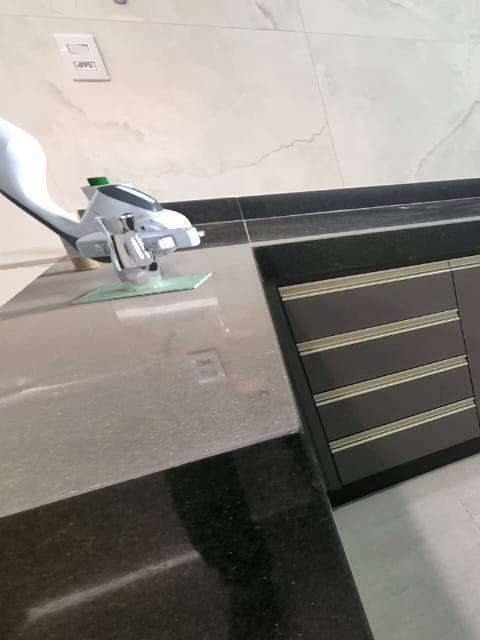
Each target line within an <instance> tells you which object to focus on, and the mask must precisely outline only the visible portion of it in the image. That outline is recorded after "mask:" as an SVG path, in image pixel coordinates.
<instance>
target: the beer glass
mask: <svg viewBox="0 0 480 640" xmlns="http://www.w3.org/2000/svg"><path fill="white" fill-rule="evenodd" d="M94 220H95V221H96V223H97V224H98V226H99V227H100V228H101V230H102V231H103V233H104V235H105V237H106V240H107V244H108V248H109V252H110V257H111V260H112V263H111V264H112V266H113V269H114V272H115V273H116V275H117V278H118V279H119V280H120V282H121V284H123V286H124V287H125V289H126V291H142V290H148V289H153V288H157V287H160V286H163V285H165V281H164V278H165V277H164V275H163V272H162V269H161V266H160V265H159V262H158V260H157V257H155V256H154V255H153V253H152V251H151V250H150V248H149V247H148V246H147V244H146V243H145V241H144V240H143V238H142V237H141V235H140V233H139V231H138V229H137V226H136V222H135V216H134V214H133V213H121V214H111V215H104V216H98V217H95V218H94Z"/></svg>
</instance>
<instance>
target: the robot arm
mask: <svg viewBox="0 0 480 640" xmlns="http://www.w3.org/2000/svg"><path fill="white" fill-rule="evenodd" d="M0 194H1V195H2V196H3V197H4V198H6V199H7V200H8V201H10V202H11V203H12V204H13V205H15V206H16V207H18V209H21V210H22V211H23V212H25V213H26V214H28V215H29V216H30V217H32V218H33V219H35V220H36V221H37V222H39V223H40V224H42V225H43V226H44V227H46V228H47V229H49V230H51V231H52V232H53V233H54V234H56V235H58V237H59V238H60V237H62V238H63V239H64V240H66V241H67V242H68V243H69V244H70V245H71V246H72V247H73V248H74V249H75V250H76V251H78V252H79V253H80V254H81V255H82V256H83V257H84V258H90V259H92V260H95V261H97V263H98V262H99V263H102V264H112V260H111V257H110V252H109V248H108V244H107V240H106V237H105V235H104V233H103V231H102V230H101V228H100V227H99V226H98V224H97V223H96V221H95V220H94V218H95V217H98V216H104V215H111V214H121V213H133V214H134V216H135V222H136V226H137V229H138V231H139V233H140V235H141V237H142V238H143V240H144V241H145V243H146V244H147V246H148V247H149V248H150V250H151V251H152V253H153V255H154V256H155V258H162V257H166V256H167V255H169V254H171V253H173V252H174V251H176V250H177V249H184V248H185V249H186V248H193V247H197V246H198V245H200V243H201V237H203V236H205V235H206V232H205V231H204V230H197V228H196V227H195V226H192V224H191V222H190V221H189V219H188V218H187V217H186V216H185V215H183V214H182V213H180V212H177V211H174V210H171V209H167V208H163V206H162V204H160V202H158V200H157V199H155V198H154V197H152V196H151V195H149V194H147V193H145V192H143V191H141V190H139V189H136V188H134V187H132V188H131V187H127V186H123V185H104V186H100V187H98V188H97V189H96V191H95V193H94V194H93V196H92V198H91V200H90V201H89V202H88V204H87V207H86V209H85V210H84V212H83V214H82V216H81V218H80V219H79V220H77V219H78V218H77V219H76V218H74V217H73V216H71V215H70V214H69V213H70V212H68V211H66V210H64V209H63V208H62V207H60V206H59V205H58V204H56V203H55V202H54V201H53V199H52V198H51V196H50V195H49V192H48V187H47V156H46V154H45V151H44V149H43V147H42V145H41V144H40V143H39V141H38V140H37V139H36V138H35V137H34V136H32V135H31V134H30V133H28V132H27V131H25V130H24V129H22V128H21V127H19V126H17V125H16V124H13V123H12V122H10V121H8V120H6V119H5V118H3V117H1V116H0Z"/></svg>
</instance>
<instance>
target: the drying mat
mask: <svg viewBox="0 0 480 640" xmlns="http://www.w3.org/2000/svg"><path fill="white" fill-rule="evenodd" d="M211 275H212V272H206V273H198V274H190V275H182V276H181V275H180V276H174V277H173V276H172V277H166V278H165V277H163V278H164V281H165V285H163V286H160V287H157V288H153V289H148V290H142V291H126V289H125V287H124V286H123V284H122V283H117V284H108V285H101V286H99V287H98V288H96V289H93V290H92V291H90V292H89V293H86V294H85V295H84V296H81V297H79V298H78V299H76V300H74V301H73V302H72V305H81V304H88V303H89V304H90V303H96V301H97V302H103V300H104V301H109V300H108V299H112V300H115V299H114V298H120V297H127V296H135V295H142V296H146V295H145V294H150V295H153V294H152V293H158V294H162V293H161V292H165V293H168V292H167V291H172V290H181V291H184V290H183V289H188V290H193V289H192V288H195V289H197V288H198V287H199V286H200V285H201V284H203V282H204V281H206V280H207V279H208V278H209V277H210V276H211ZM135 297H136V296H135ZM127 298H128V297H127ZM120 299H121V298H120Z"/></svg>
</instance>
